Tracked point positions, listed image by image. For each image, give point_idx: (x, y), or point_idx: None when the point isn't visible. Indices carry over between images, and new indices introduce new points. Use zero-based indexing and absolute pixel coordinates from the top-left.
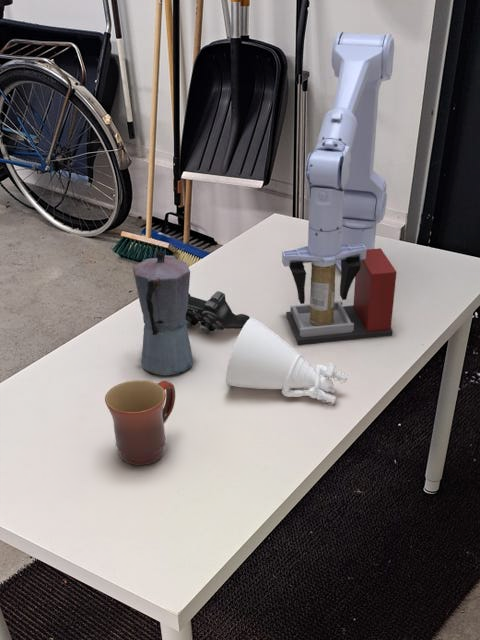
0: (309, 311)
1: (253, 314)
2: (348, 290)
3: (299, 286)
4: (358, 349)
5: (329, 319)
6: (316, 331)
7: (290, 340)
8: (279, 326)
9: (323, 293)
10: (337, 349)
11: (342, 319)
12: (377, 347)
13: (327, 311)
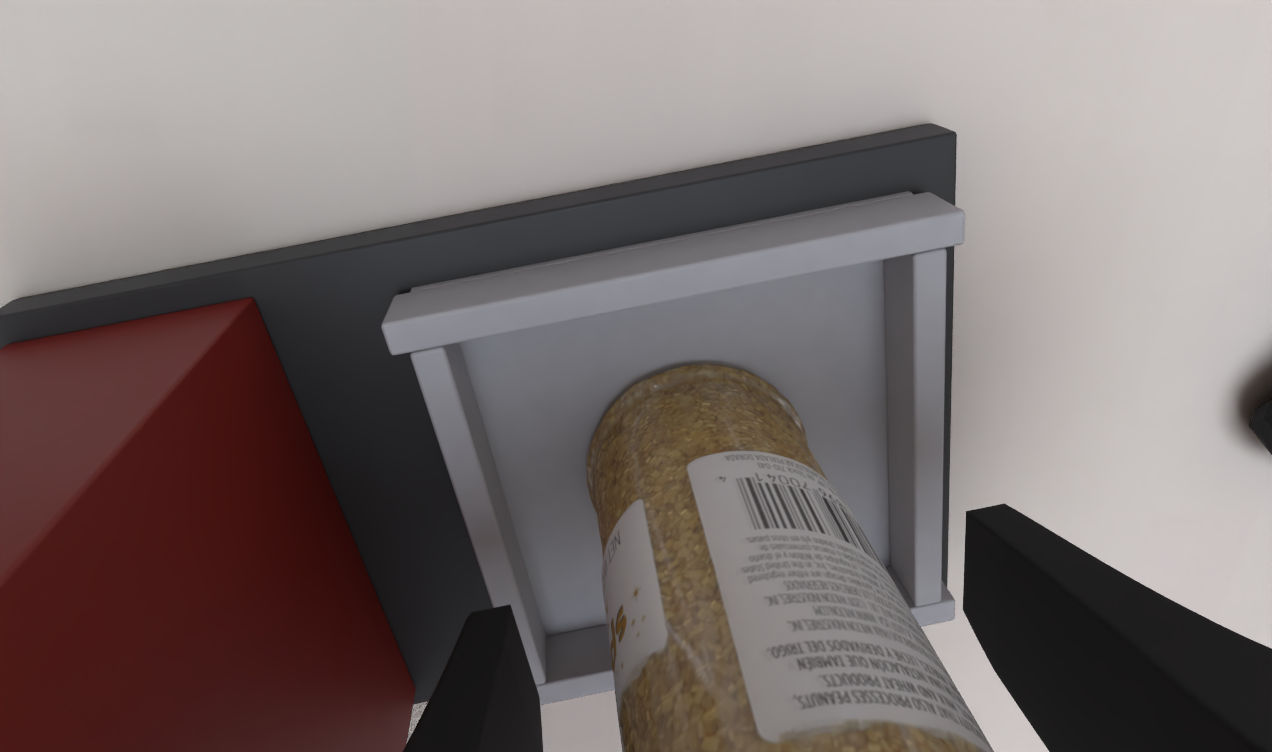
0: None
1: (1143, 584)
2: (429, 703)
3: (1236, 646)
4: (335, 23)
5: (639, 419)
6: (780, 232)
7: (976, 216)
8: (1010, 437)
9: (800, 596)
10: (558, 29)
11: (505, 497)
12: (128, 63)
13: (679, 458)
